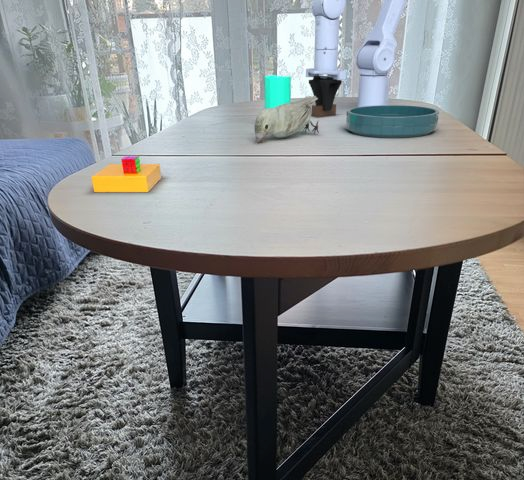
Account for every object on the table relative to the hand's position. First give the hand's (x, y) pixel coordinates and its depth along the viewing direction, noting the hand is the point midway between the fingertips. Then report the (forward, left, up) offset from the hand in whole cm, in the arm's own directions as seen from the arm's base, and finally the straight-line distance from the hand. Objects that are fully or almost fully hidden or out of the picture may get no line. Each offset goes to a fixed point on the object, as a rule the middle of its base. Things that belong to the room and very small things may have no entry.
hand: (323, 109), depth 132 cm
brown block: (0, 0, -1) cm, 1 cm away
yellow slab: (+77, +2, -2) cm, 77 cm away
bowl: (+16, +23, -1) cm, 28 cm away
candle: (+20, -3, -2) cm, 20 cm away
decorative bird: (+33, +6, -2) cm, 34 cm away
